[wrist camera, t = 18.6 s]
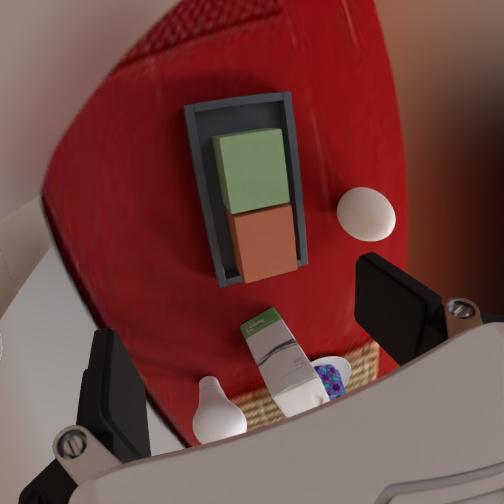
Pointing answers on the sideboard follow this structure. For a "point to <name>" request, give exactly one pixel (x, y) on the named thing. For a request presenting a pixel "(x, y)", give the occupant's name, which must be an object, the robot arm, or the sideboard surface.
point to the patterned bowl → (333, 374)
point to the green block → (251, 169)
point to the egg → (365, 214)
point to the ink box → (283, 364)
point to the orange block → (263, 241)
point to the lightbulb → (216, 414)
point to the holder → (204, 165)
